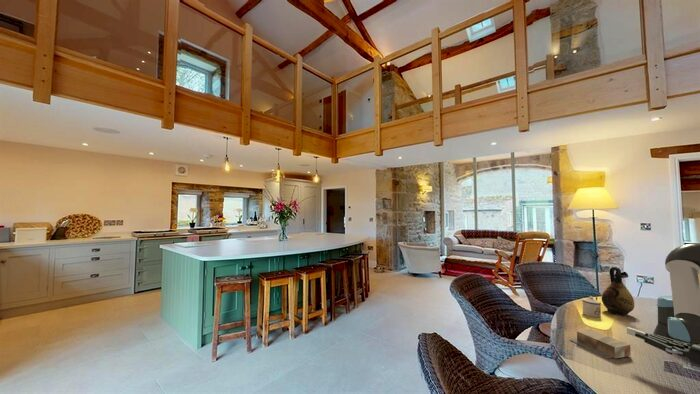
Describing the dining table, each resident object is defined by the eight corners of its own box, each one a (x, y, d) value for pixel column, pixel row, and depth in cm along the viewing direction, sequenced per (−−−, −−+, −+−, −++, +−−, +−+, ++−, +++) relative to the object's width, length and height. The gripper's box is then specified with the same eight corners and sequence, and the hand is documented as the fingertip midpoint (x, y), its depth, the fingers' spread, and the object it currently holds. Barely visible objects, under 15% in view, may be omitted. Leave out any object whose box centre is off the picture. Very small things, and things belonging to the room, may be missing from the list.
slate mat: (630, 354, 124) (630, 353, 124) (608, 358, 121) (608, 357, 121) (589, 337, 141) (589, 336, 141) (569, 340, 137) (569, 339, 137)
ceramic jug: (642, 319, 166) (640, 271, 167) (613, 316, 169) (612, 269, 170) (620, 309, 183) (619, 265, 184) (594, 307, 186) (593, 264, 187)
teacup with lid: (598, 318, 166) (597, 300, 166) (579, 313, 173) (579, 295, 174) (605, 315, 172) (604, 297, 172) (587, 310, 179) (586, 293, 180)
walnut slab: (630, 344, 123) (591, 329, 138) (615, 347, 120) (576, 331, 136) (630, 355, 123) (591, 339, 138) (615, 358, 120) (577, 341, 136)
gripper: (698, 372, 95) (617, 340, 118) (720, 367, 98) (638, 337, 121) (697, 351, 95) (617, 323, 118) (720, 347, 99) (637, 320, 122)
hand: (628, 330), depth 120 cm, fingers closed
